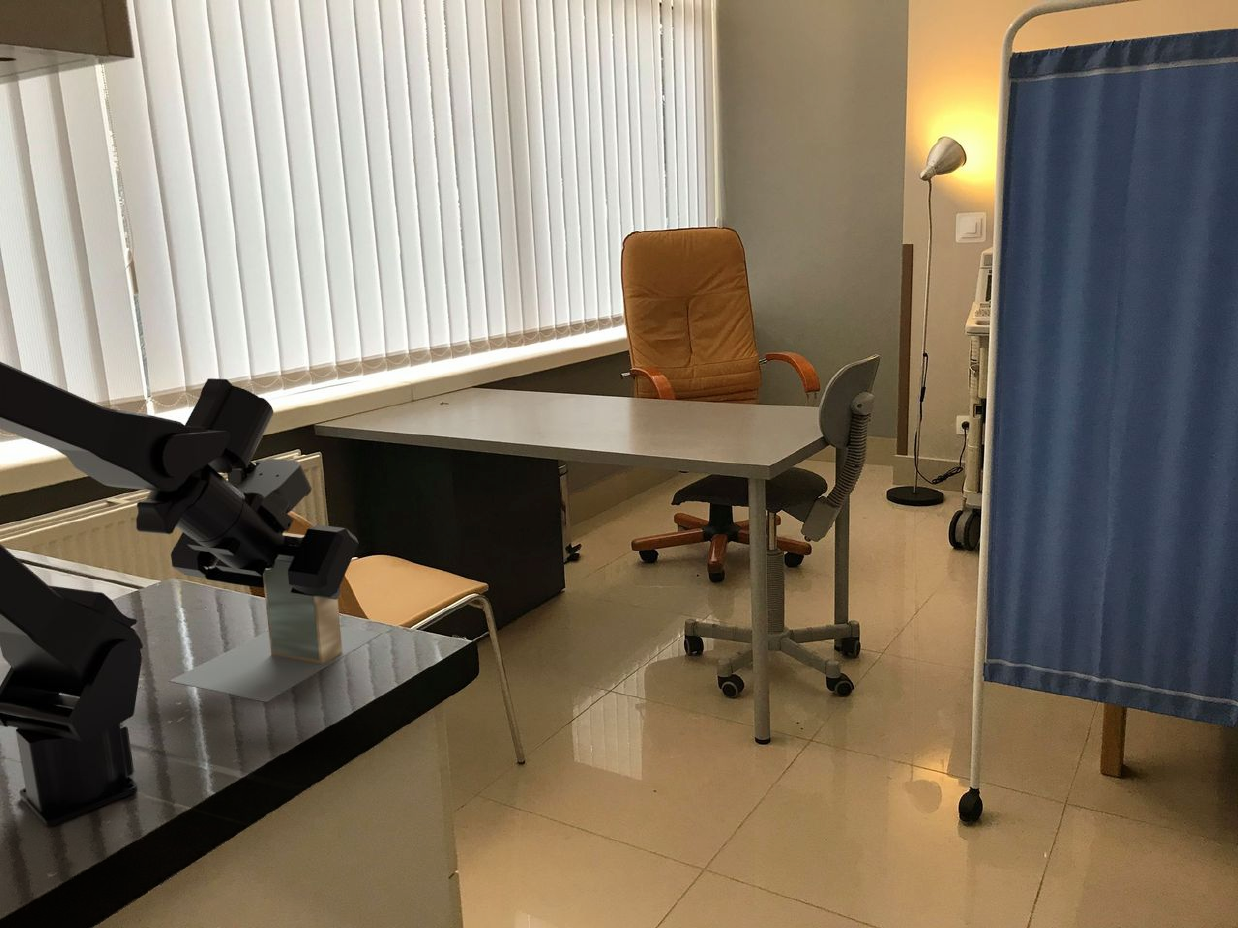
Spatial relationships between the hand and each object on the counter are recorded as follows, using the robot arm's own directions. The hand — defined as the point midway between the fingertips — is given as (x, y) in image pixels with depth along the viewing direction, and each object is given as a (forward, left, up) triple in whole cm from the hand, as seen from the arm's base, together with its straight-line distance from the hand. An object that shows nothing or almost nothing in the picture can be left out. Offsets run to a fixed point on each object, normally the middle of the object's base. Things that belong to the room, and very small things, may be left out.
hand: (310, 590), depth 101 cm
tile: (-1, 0, -6) cm, 6 cm away
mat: (-3, +1, -7) cm, 8 cm away
